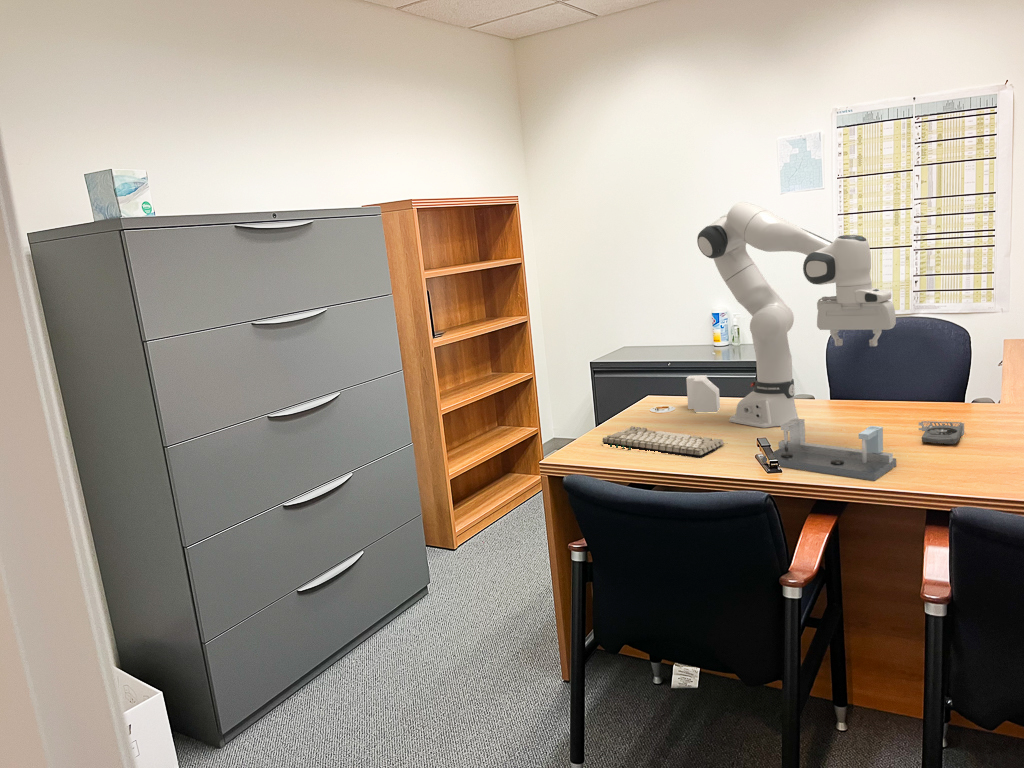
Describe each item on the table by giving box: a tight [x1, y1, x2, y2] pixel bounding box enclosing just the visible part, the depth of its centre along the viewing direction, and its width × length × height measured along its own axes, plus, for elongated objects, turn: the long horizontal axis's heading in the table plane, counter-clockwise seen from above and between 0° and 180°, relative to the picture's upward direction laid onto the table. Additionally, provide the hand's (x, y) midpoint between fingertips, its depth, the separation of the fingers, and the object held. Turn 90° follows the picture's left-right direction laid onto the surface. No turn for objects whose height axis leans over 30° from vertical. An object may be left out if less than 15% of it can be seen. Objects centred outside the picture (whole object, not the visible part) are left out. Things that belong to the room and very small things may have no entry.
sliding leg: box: [858, 425, 884, 463], centre depth 192 cm, size 3×8×8 cm, turn 133°
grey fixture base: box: [762, 418, 897, 482], centre depth 200 cm, size 30×14×11 cm, turn 43°
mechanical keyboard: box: [601, 425, 728, 459], centre depth 237 cm, size 38×19×3 cm, turn 47°
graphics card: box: [918, 420, 965, 445], centre depth 214 cm, size 17×4×12 cm
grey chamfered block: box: [685, 374, 721, 413], centre depth 277 cm, size 11×11×12 cm
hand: (855, 345), depth 205 cm, fingers open, 8 cm apart
